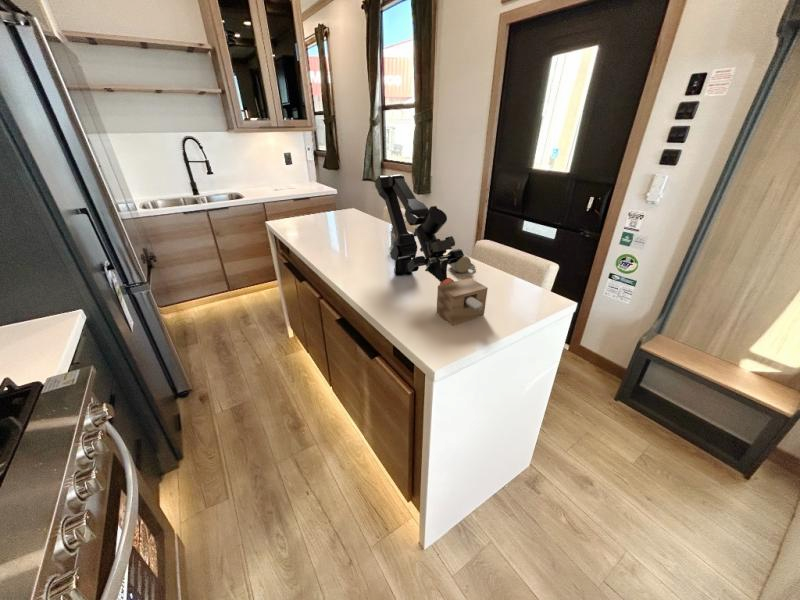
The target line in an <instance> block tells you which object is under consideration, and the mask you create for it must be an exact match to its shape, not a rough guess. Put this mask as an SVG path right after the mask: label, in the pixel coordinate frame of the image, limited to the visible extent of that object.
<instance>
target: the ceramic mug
mask: <svg viewBox="0 0 800 600" xmlns="http://www.w3.org/2000/svg"><path fill="white" fill-rule="evenodd" d="M456 249H457V248H456ZM456 249H454V250H456ZM463 253H464V256H463V257H462V258H461V259H460V260H459V261H458V262H456V263H453V264H448V265H449V266H450V267H451V269H453V270H454V272H457V273H460V274H463V273H466V272H467V271H469V270H472V271H475V269H476V265H475V264H474V263H472V261H471V258H470V257H469V256H468V255H467V254H466V253H465V252H464V251H463Z"/></svg>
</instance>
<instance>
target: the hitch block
mask: <svg viewBox="0 0 800 600" xmlns="http://www.w3.org/2000/svg"><path fill="white" fill-rule="evenodd" d="M488 290H489V289H488V287H487V286H485V285H484V284H482V283H480V282H478V281H477V280H475V279H474V278H471V277H468V278H463V279H460V280H454V282H451V283H447V284H442V285H440V284H439V285H437V296H436V297H437V298H436V308H435V309H436V312H435V313H436V315H438V316H439V317H440V318H441V319H442V320H444V321H445V322H446V323H448V324H449V325H450V326H454V325H458V324H462V323H465V322H467V321H468V322H469V321H472V320H474V319H479V318H481V317H484V315H485V310H486V309H485V308H486V302H487V297H488V296H487V294H488ZM466 296H472V297H473V298H475V299H476V300H478V301H480V302H481V303H482V304H483V308H482V309H481V310H480V311H478V312H477V311H475V310H474V309H472V308H471V307H469V306H468V305H466V304H465V303H464V297H466Z"/></svg>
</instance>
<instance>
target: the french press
mask: <svg viewBox="0 0 800 600" xmlns="http://www.w3.org/2000/svg"><path fill="white" fill-rule="evenodd" d="M397 198H399V197H398V196H397ZM403 218H404V222H405V223H408V222H407V220H406V217H405V216H403ZM389 220H390V221H391V219H390V218H389ZM394 239H395V233H394V230H393V226H391V231H390V246H389V247H388V250H390V251H391V250H392V249H393V247H394V245H393V242H394Z"/></svg>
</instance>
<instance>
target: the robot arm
mask: <svg viewBox="0 0 800 600" xmlns="http://www.w3.org/2000/svg"><path fill="white" fill-rule="evenodd" d="M374 187H375V188H376V190H377V192H378V195H379V196H380V197H381V199H383V200H384V202H385V205H386V208H387V211H388V216H389V220H390V219H391V220H390V222H391V227H393V230H394V233H395V239H394V242H393V245H394V247H393V249H392V250H390V258H391V259H392V260H393V261H394V268H393V270H394V274H395V276H397V277H399V276H412V275H413V273H414V272H418V270H420V269H419V268H420V267H423V266H425V269H424V271H425V272H428V273H429V274H431V275H432V276H433V277H434V278H436V279H437V280H438V282H439V283H441V281H442V280H443V279H445V278H448V272H447V271H448V265H449V264H453V263H456V262H458V261H459V260H460V259H461V258H462V257H463V256H464V253H465V252H464V251H463V249H460V248H456V250H455V249H453V248H452V247H455V246H456V241H455V238H454V236H453V235H450V236H446V237H445V238H444V239H442V240H441V239H440V238H437V236H436V234H437V233H438V232H439V231H440V230H441V229H442V227H443V226H444V225H445V224H446V222H447V220H448V215H447V214H446V213H445V212H444V211H443V210H441V209H439V208H438V207H437V205H432V206H430V207H429V208H428V206H426V204H425V203H424V202H422V201H419V200H418V199H417V197H416V196H415V195H414V193H413V191H412V190H411V188H410V186H409V185H408V183H407V181H406V179H405V176H404V175H403V174H401V173H399V174H398V173H397V174H396V173H395V174H391V175H379V176H377V178H376V179H375V181H374ZM397 196H398V197H397ZM400 203H401V204H402V206H403V207H404V215H403V212H402V209H401V205H400ZM403 217H405V218H406V220H407V222H404V218H403ZM406 223H408V225H409V226H417V227H416V228H414V232H413V233H411V232H409V231H408V228H407V226H406ZM415 237H417V240H418V242H419V245H420V249H419V251H420V252H421V253H423V255H420V256H417V253H418V244H417V241H416V238H415ZM447 250H450V251H449V252H448V253H447ZM463 252H464V253H463ZM446 253H447V254H446ZM444 254H445V255H444Z"/></svg>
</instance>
